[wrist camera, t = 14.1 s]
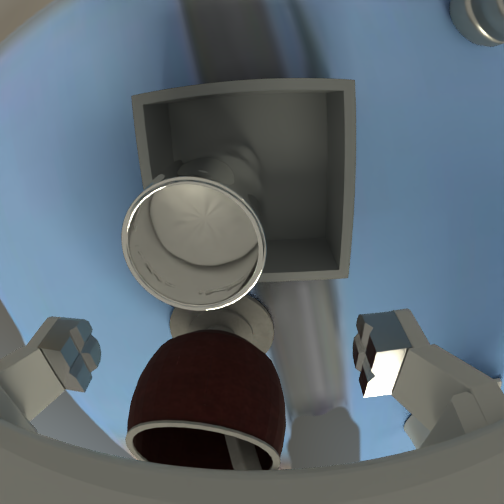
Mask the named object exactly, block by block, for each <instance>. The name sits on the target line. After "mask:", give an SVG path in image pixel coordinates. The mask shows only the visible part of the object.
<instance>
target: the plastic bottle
mask: <svg viewBox="0 0 504 504" xmlns="http://www.w3.org/2000/svg"><path fill="white" fill-rule="evenodd" d="M450 16H451V19H452V21H453V24H454V25H455V27H456V29H457V30H458V31H459V32H460V33H461V34H462V35H463V36H464V37H465V38H466V39H468V40H469V41H470V42H472V43H474V44H476V45H480V46H487V47H494V46H498V45H501V44H503V43H504V0H451V1H450Z"/></svg>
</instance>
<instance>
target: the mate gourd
mask: <svg viewBox="0 0 504 504" xmlns="http://www.w3.org/2000/svg"><path fill="white" fill-rule="evenodd" d="M170 330H171V335H172V337H173V338H172V339H170V340H168V341H167V342H166V343H164V344H163V345H162V346H161V347H160V348H159V349H158V350H157V352H156V353H155V354H154V355H153V357H152V358H151V359H150V361H149V362H148V364H147V365H146V367H145V369H144V370H143V372H142V374H141V375H140V378H139V380H138V383H137V386H136V389H135V391H134V394H133V397H132V401H131V405H130V411H129V417H128V427H127V436H126V439H125V440H126V444H127V447H128V448H129V450H130V451H131V453H132V454H133V455H134V456H135V457H136V458H138V459H139V460H140V461H146V462H152V463H159V464H166V465H174V466H182V467H192V468H204V469H221V470H277V469H278V468H279V466H280V455H281V452H282V448H283V442H284V435H285V428H286V418H285V402H284V396H283V392H282V388H281V384H280V379H279V377H278V374H277V372H276V369H275V367H274V365H273V363H272V361H271V360H270V359H269V358H268V357H267V355H266V352H267V351H268V350H269V348H270V347H271V344H272V341H273V336H274V327H273V321H272V319H271V317H270V314H269V313H268V311H267V310H266V309H265V307H264V306H263V305H262V304H261V303H260V302H258V301H257V300H256V299H255V298H253V297H251V296H250V295H248V294H246V295H245V296H244V297H243V298H241V299H240V300H238V301H237V302H235V303H233V304H231V305H229V306H226V307H223V308H220V309H215V310H209V311H191V310H185V309H181V308H177V307H175V308H174V310H173V313H172V316H171V318H170Z"/></svg>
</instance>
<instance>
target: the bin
mask: <svg viewBox="0 0 504 504" xmlns="http://www.w3.org/2000/svg"><path fill="white" fill-rule="evenodd" d="M131 97H132V108H133V117H134V126H135V134H136V142H137V149H138V156H139V163H140V170H141V176H142V183H143V189H144V190H145V188H146V187H147V186H148V185H149V184H150V183H151V182H152V180H153V179H154V178H155V177H156V176H157V175H158V174H160V173H161V172H162V171H163V170H164V169H165V168H166V167H168V166H169V165H171V164H172V163H174V162H175V161H177V160H179V159H181V158H182V157H184V156H187V155H189V154H193V153H197V152H200V151H201V150H202V149H203V148H204V147H205V146H207V145H208V144H210V143H212V142H214V141H218V140H225V139H226V140H235V141H238V142H241V143H243V144H245V145H246V146H248V147H249V148H250V149H251V150H252V151H253V152H254V153H255V154H256V156H257V158H258V160H259V162H260V165H261V171H262V177H261V182H262V184H263V186H264V188H265V191H266V195H267V199H268V205H269V213H270V222H269V235H268V243H267V252H266V261H265V265H264V269H263V271H262V274H261V276H260V278H259V280H258V281H257V282H279V281H301V280H322V279H341V278H348V274H349V265H350V254H351V242H352V230H353V215H354V197H355V170H356V98H355V80H347V79H325V78H274V79H252V80H237V81H226V82H216V83H206V84H198V85H191V86H184V87H177V88H171V89H165V90H159V91H153V92H148V93H143V94H138V95H133V96H131Z"/></svg>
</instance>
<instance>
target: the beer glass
mask: <svg viewBox="0 0 504 504" xmlns="http://www.w3.org/2000/svg"><path fill="white" fill-rule="evenodd" d="M261 177H262V171H261V165H260V162H259V160H258V158H257V156H256V154H255V153H254V152H253V151H252V150H251V149H250V148H249V147H248V146H246V145H245V144H243V143H241V142H238V141H235V140H226V139H225V140H218V141H214V142H212V143H210V144H208V145H207V146H205V147H204V148H203V149H202V150H201V151H200V152H197V153H193V154H189V155H187V156H184V157H182V158H181V159H179V160H177V161H175V162H174V163H172V164H171V165H169V166H168V167H166V168H165V169H164V170H163V171H162V172H161V173H160V174H158V175H157V176H156V177H155V178H154V179H153V180H152V182H151V183H150V184H149V185H148V186H147V187H146V188H145V190H144V191H143V192H142V193H141V194H140V195H139V196H138V197H137V198H136V199H135V200H134V201H133V203H132V204H131V206H130V207H129V209H128V211H127V213H126V216H125V218H124V222H123V226H122V234H121V241H122V250H123V254H124V257H125V260H126V263H127V265H128V267H129V269H130V271H131V273H132V274H133V276H134V277H135V279H136V280H137V281H138V282H139V284H140V285H141V286H142V287H143V288H144V289H145V290H146V291H148V292H149V293H150V294H151V295H153V296H154V297H156V298H157V299H159V300H161V301H162V302H164V303H166V304H169V305H171V306H174V307H177V308H181V309H185V310H191V311H209V310H215V309H220V308H223V307H226V306H229V305H231V304H233V303H235V302H237V301H238V300H240V299H241V298H243V297H244V296H245V295H246V294H247V293H249V292H250V290H251V289H252V288H253V287H254V286H255V284H256V283H257V281H258V280H259V278H260V276H261V274H262V271H263V269H264V265H265V261H266V252H267V243H268V235H269V222H270V213H269V205H268V199H267V195H266V191H265V188H264V186H263V184H262V182H261Z"/></svg>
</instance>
